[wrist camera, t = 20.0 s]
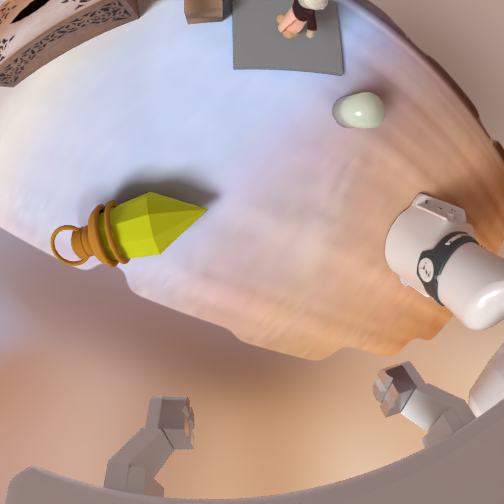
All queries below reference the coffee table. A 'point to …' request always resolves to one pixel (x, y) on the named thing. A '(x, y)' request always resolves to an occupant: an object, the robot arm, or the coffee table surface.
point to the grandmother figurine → (300, 18)
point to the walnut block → (203, 11)
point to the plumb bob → (130, 229)
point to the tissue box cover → (52, 30)
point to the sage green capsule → (359, 111)
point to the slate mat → (284, 39)
